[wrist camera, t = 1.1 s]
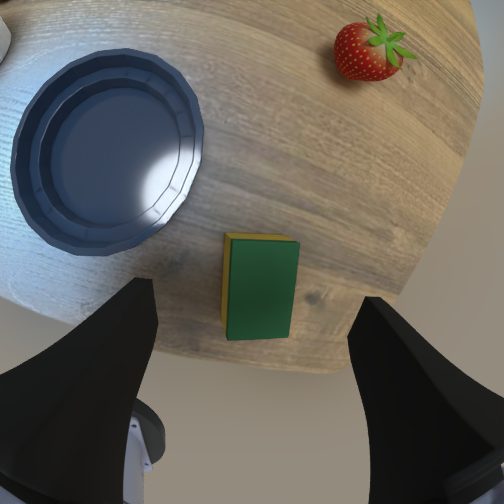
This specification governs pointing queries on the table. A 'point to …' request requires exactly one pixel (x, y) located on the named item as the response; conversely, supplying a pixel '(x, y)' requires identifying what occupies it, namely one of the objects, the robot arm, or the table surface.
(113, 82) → the bowl
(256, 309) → the sponge
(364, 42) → the fruit
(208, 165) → the table surface
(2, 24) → the cup
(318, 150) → the table surface
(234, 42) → the table surface
